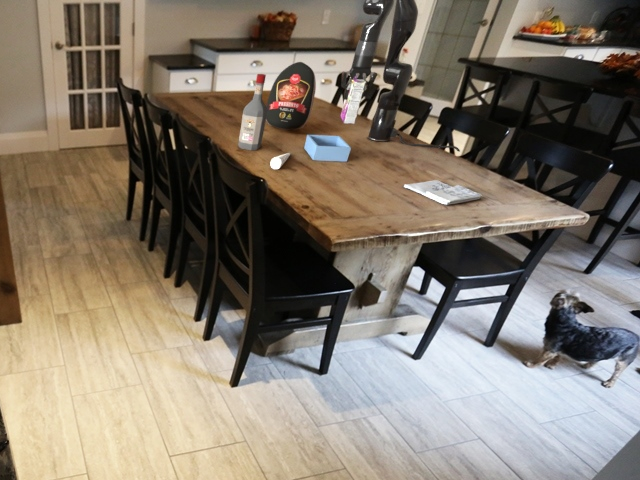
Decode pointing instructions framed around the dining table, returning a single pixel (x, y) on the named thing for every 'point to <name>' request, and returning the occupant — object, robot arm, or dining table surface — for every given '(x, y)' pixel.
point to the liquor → (254, 119)
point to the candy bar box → (353, 101)
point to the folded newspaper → (444, 192)
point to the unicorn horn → (279, 161)
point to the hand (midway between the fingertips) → (352, 99)
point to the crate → (327, 148)
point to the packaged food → (291, 97)
